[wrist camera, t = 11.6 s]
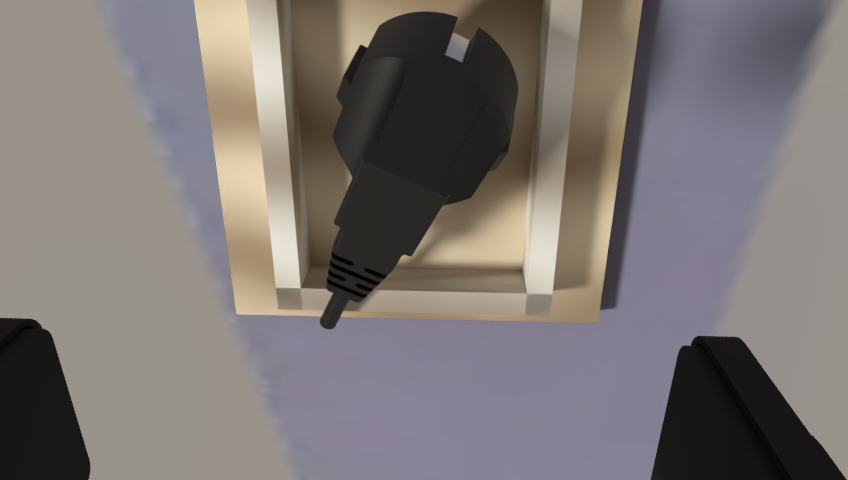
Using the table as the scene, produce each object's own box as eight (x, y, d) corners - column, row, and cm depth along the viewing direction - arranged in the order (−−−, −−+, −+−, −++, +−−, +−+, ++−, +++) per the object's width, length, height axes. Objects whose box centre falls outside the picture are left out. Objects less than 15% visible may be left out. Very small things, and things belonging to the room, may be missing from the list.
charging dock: (192, -88, 22) (157, -94, 20) (646, -86, 22) (674, -92, 19) (243, 302, 29) (221, 338, 26) (593, 311, 29) (608, 348, 26)
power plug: (252, 311, 24) (335, 65, 16) (315, 183, 29) (403, -57, 21) (388, 364, 25) (538, 159, 16) (426, 230, 30) (556, 19, 21)
